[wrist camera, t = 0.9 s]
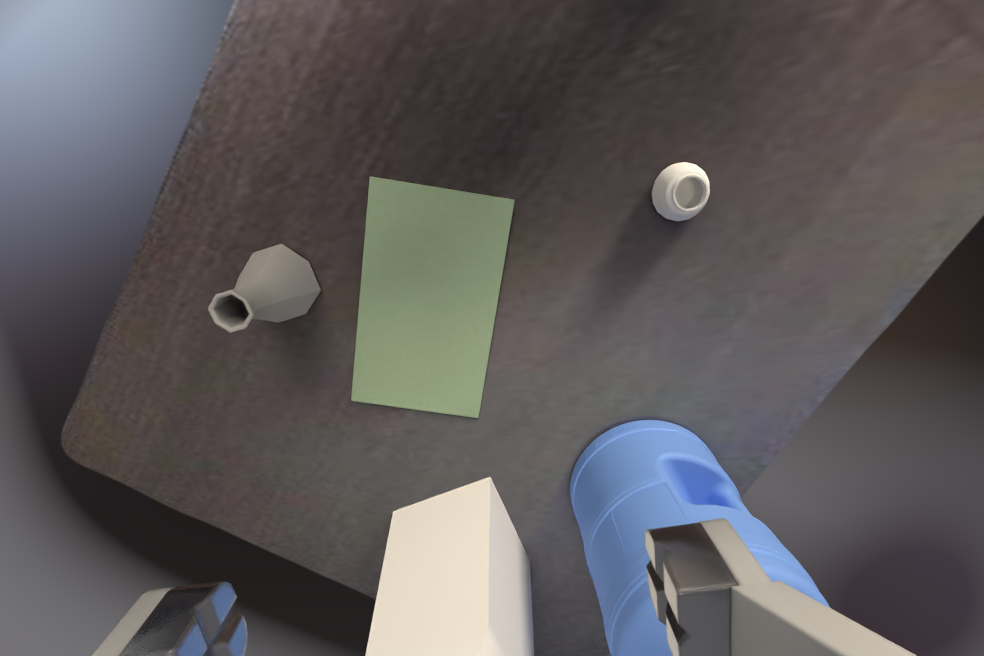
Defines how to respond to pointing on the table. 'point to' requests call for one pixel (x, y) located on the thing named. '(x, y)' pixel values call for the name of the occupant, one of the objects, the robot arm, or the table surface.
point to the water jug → (657, 522)
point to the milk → (454, 580)
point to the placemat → (428, 296)
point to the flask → (267, 290)
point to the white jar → (680, 191)
